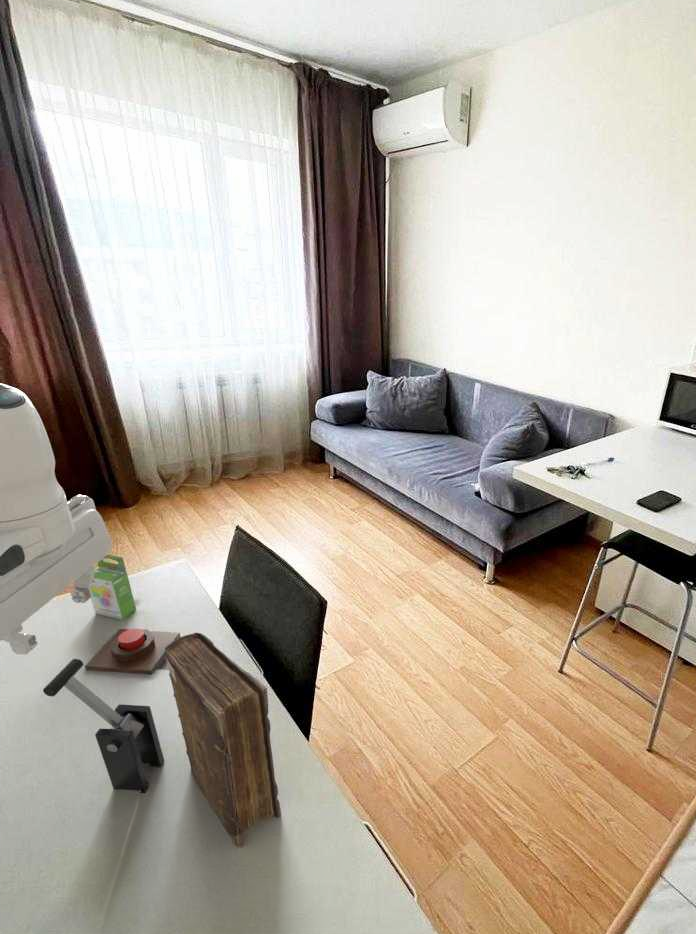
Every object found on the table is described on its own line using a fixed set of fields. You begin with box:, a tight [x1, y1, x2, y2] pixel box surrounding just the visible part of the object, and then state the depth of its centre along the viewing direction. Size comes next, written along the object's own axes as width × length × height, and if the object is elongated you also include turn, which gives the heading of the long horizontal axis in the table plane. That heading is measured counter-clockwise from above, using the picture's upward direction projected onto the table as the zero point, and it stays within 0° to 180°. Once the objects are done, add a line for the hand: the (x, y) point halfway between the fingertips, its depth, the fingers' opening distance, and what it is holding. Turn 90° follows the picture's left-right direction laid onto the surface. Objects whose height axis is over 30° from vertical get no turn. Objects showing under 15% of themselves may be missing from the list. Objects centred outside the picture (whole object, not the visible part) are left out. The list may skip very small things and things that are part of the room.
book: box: [164, 632, 282, 849], centre depth 66 cm, size 17×7×25 cm, turn 45°
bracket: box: [94, 703, 165, 794], centre depth 70 cm, size 12×9×13 cm
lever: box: [42, 658, 144, 738], centre depth 66 cm, size 13×5×2 cm
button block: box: [84, 628, 182, 675], centre depth 93 cm, size 12×10×4 cm
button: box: [118, 627, 145, 650], centre depth 92 cm, size 4×4×2 cm
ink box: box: [90, 554, 137, 621], centre depth 102 cm, size 7×4×13 cm, turn 76°
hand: (57, 623), depth 62 cm, fingers open, 8 cm apart
